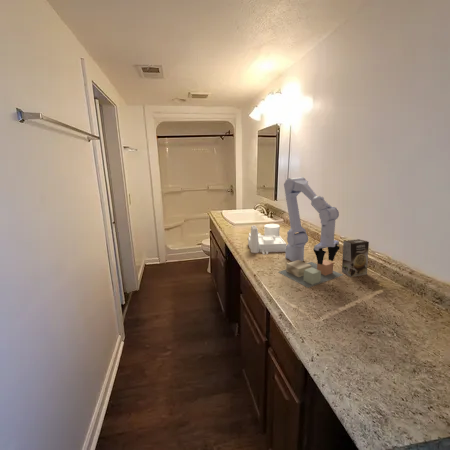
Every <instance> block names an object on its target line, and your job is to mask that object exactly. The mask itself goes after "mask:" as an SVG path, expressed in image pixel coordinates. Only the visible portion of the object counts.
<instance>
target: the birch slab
mask: <svg viewBox="0 0 450 450" xmlns="http://www.w3.org/2000/svg"><path fill="white" fill-rule="evenodd" d="M307 263H308V262H304V261H300V260H296V261H290V262H287V263H285V264H286V265H285V267H286V268H285V270H286V271H287V272H289V273H291V274H293V275H295V276H297V277H301V276H304V270H305V269H308V268H311V265H310V264H307Z"/></svg>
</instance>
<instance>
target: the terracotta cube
mask: <svg viewBox="0 0 450 450" xmlns="http://www.w3.org/2000/svg"><path fill="white" fill-rule="evenodd" d="M316 264H317V270H319V271H321V274H323V275H325V276H326V275H328V274H331V273H333V271H334V262H333V261H330V260H327V259H323V264H322V265H321V264H318V262H316Z"/></svg>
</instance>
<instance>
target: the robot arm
mask: <svg viewBox="0 0 450 450" xmlns="http://www.w3.org/2000/svg"><path fill="white" fill-rule="evenodd" d="M283 186H284V192H285V193H284V194H285V201H286V206H287V207H286V208H287V212H288V220H289V224H290V229H288V231H287V234H286V235H287V237H286V241H287V242H286V243H287V244H286V252H284V253H285V255H284V257H285V259H286V260H287V259H288V260H289V261H290V262H293V261H296V260H300V261H302V262H304V259H305V246H306V244H307V243H308V242H309V236H308V234H307V231H306V229H305V227H303V226H302V222H301V217H300V209H299V204H298V199H297V198H298V196H299V194H301V193H302V194H303V195H304V196H306V197H307V198H308V200H309V201H310V202H311V203H310V204H311V206H312V207H313V208H314V209H315V211H316V212H317V213H318V218H319V219H320V224H321V225H320V226H321V227H320V242H319V243H317V244H315V245H313V246H314V248H312V249H313V250H312V251H313V252H314V254H315V257H316V261H317V262H318V264H321V265H322V264H323V260H324V258H325V254H326V252H328V261H330V262H333V261H335V260H334V259H335V257H336V255H337V253H338V251H339V250H340V246H339V244H340V240H335V233H336V232H335V231H336V220H338V218H339V216H340V214H339V213H340V212H339V210H338V209H337V207H335V206H332V205H330V204H329V203H328V202H327V200H325V198H324V197H323V196H321V195H319V196H318V195H317V194H316V193H315V191H314V190H313V189H312V188H311V186H310V185H309V181H308V180H306V178H305V177H291V178H290V177H289V178H287V179H285V182H284V183H283ZM324 249H327V251H326V250H324ZM317 262H316V263H317Z"/></svg>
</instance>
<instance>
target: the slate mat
mask: <svg viewBox="0 0 450 450" xmlns="http://www.w3.org/2000/svg"><path fill="white" fill-rule="evenodd" d="M306 263H307V264H310V265H311V268H315V269H317V262H316V263H315V262H313V261H309V262H306ZM278 274H281V275H282V276H285V277H287V278H288V279H290V280H292V281H295V282H296V283H299V284H300V285H302V286H304V287H305V288H308V289H309V288H312V287H314V286H317V285H320V284H323V283H326V282H328V281H330V280H334V279H337V278H340V277H342V276H344V273H343V274H342V273H340V272H337V271H335V270H333V273H331V274H328V275H326V276H325V275H323V274H321V279H320V282H318V283H316V284H313V285H312V284H310V283H308V282H306V281H304V276H301V277H297V276H295V275H293V274H291V273H289V272H287V271H286V269H282V270H279V271H278Z"/></svg>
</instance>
